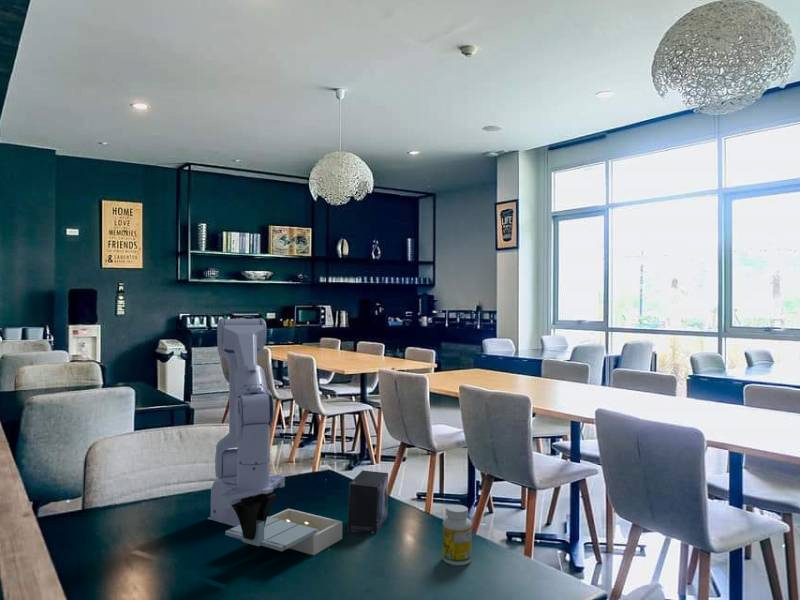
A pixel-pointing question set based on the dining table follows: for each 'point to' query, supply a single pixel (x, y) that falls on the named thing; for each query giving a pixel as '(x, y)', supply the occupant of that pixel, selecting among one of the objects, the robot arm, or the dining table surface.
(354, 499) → the small box
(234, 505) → the robot arm
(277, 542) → the lid
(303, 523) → the brass ball
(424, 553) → the dining table surface
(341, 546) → the dining table surface
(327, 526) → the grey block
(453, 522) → the supplement bottle
